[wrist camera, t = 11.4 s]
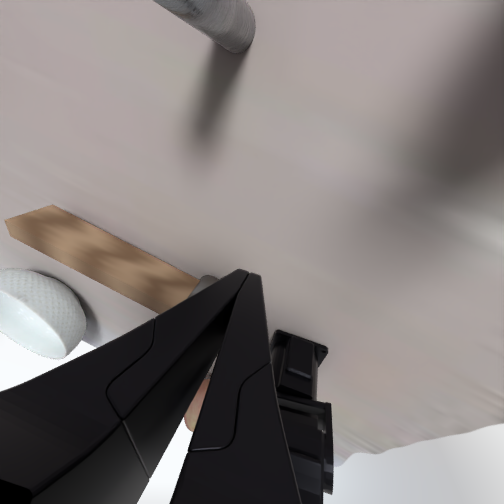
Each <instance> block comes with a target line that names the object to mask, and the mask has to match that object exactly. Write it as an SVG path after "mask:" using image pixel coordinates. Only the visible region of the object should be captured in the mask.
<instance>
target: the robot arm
mask: <svg viewBox="0 0 504 504" xmlns="http://www.w3.org/2000/svg"><path fill="white" fill-rule="evenodd" d="M217 354H218V356H217ZM327 354H328V348H327V347H326V346H323V345H320V344H317V343H314V342H312V341H309V340H306V339H303V338H301V337H298V336H295V335H292V334H289V333H287V332H284V331H281V330H276V332H275V334H274V337H273V339H272V342H271V345H270V344H269V336H268V328H267V320H266V312H265V304H264V296H263V288H262V280H261V276H260V275H258V274H255V273H249V272H248V271H245V270H242V269H237V270H235V271H233V272H232V273H230V274H228V275H227V276H225V277H223V278H221V279H220V280H218V281H216V282H214V283H213V284H211V285H209V286H208V287H206V288H204V289H202V290H201V291H199V292H197V293H196V294H194V295H192V296H190V297H189V298H187V299H185V300H184V301H182V302H180V303H178V304H177V305H175V306H173V307H172V308H170V309H168V310H166V311H165V312H163V313H161V314H160V315H158V316H156V317H155V319H154V318H153V319H151V320H149V321H147V322H146V323H144V324H142V325H140V326H139V327H137V328H135V329H133V330H131V331H130V332H128V333H126V334H124V335H122V336H120V337H118V338H116V339H114V340H112V341H110V342H108V343H106V344H104V345H102V346H100V347H98V348H96V349H94V350H92V351H90V352H88V353H86V354H84V355H82V356H80V357H77V358H75V359H73V360H71V361H69V362H67V363H65V364H63V365H61V366H58V367H57V368H54V369H52V370H50V371H48V372H46V373H44V374H42V375H40V376H37V377H35V378H33V379H31V380H29V381H27V382H24V383H22V384H20V385H17V386H14V387H12V388H9V389H7V390H4V391H1V392H0V504H137V502H138V500H139V499H140V497H141V495H142V493H143V491H144V489H145V488H146V486H147V484H148V482H149V478H151V476H152V474H153V472H154V471H155V469H156V467H157V465H158V463H159V462H160V460H161V458H162V456H163V454H164V452H165V450H166V449H167V447H168V445H169V443H170V441H171V439H172V438H173V436H174V434H175V432H176V430H177V428H178V426H179V424H180V423H181V421H182V419H183V417H184V415H185V414H186V412H187V410H188V408H189V406H190V404H191V402H192V401H193V399H194V397H195V395H196V393H197V391H198V390H199V388H200V386H201V384H202V382H203V380H204V378H205V377H206V375H207V373H208V371H209V369H210V367H211V366H212V364H213V362H214V360H215V358H216V356H217V359H216V362H215V365H214V369H213V372H212V375H211V378H210V381H209V384H208V387H207V391H206V394H205V397H204V400H203V403H202V406H201V410H200V413H199V416H198V419H197V422H196V425H195V428H194V432H193V435H192V438H191V441H190V444H189V447H188V453H187V454H186V457H185V460H184V463H183V466H182V469H181V472H180V475H179V478H178V481H177V484H176V487H175V490H174V493H173V496H172V498H171V501H170V504H323V492H325V493H328V494H331V495H332V492H333V432H332V411H331V403H328V402H325V403H323V402H319V401H317V374H318V367H319V366H320V364H321V363H322V361H323V360H324V358H325V357H326V355H327ZM322 430H323V431H322Z"/></svg>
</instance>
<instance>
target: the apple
mask: <svg viewBox="0 0 504 504" xmlns="http://www.w3.org/2000/svg"><path fill="white" fill-rule="evenodd" d="M209 381H210V379H205V380H203V382H202V384H201V386H200V388H199V390H198V391H197V393H196V395H195V397H194V399H193V401H192V402H191V404H190V406H189V408H188V410H187V412H186V414H185V415H184V420H185V424H186V426H187V428H188V429H189V430H190V431H192V432H194V428H195V425H196V422H197V419H198V416H199V413H200V410H201V406H202V403H203V400H204V397H205V394H206V391H207V387H208V384H209Z"/></svg>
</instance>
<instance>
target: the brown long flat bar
mask: <svg viewBox="0 0 504 504" xmlns="http://www.w3.org/2000/svg"><path fill="white" fill-rule="evenodd" d="M5 223H6V226H7V228H8V231H9V234H10V236H11V237H13V238H15V239H17V240H19V241H20V242H22V243H24V244H26V245H28V246H30V247H32V248H34V249H36V250H38V251H40V252H42V253H43V254H45V255H47V256H49V257H51V258H53V259H55V260H57V261H59V262H61V263H63V264H65V265H66V266H68V267H70V268H72V269H74V270H76V271H78V272H80V273H82V274H84V275H86V276H88V277H89V278H91V279H93V280H95V281H97V282H99V283H101V284H103V285H105V286H107V287H109V288H110V289H112V290H114V291H116V292H118V293H120V294H122V295H124V296H126V297H128V298H130V299H132V300H133V301H135V302H137V303H139V304H141V305H143V306H145V307H147V308H149V309H151V310H153V311H155V312H156V313H158V314H161V313H163V312H165V311H166V310H168V309H170V308H172V307H173V306H175V305H177V304H178V303H180V302H182V301H184V300H185V299H187V298H189V297H190V296H192V295H194V294H196V293H197V292H199V291H201V290H202V289H204V288H206V287H208V286H209V285H211V284H213V283H214V282H216V281H218V279H217V278H215V277H213V276H210V275H206V276H203V277H202V278H201V279H200V280H198V279H196V278H194V277H192V276H190V275H188V274H186V273H184V272H183V271H181V270H179V269H177V268H175V267H173V266H171V265H169V264H167V263H165V262H163V261H161V260H159V259H157V258H155V257H153V256H151V255H150V254H148V253H146V252H144V251H142V250H140V249H138V248H136V247H134V246H132V245H130V244H128V243H126V242H124V241H122V240H120V239H118V238H117V237H115V236H113V235H111V234H109V233H107V232H105V231H103V230H101V229H99V228H97V227H95V226H93V225H91V224H89V223H87V222H86V221H84V220H82V219H80V218H78V217H76V216H74V215H72V214H70V213H68V212H66V211H64V210H62V209H60V208H58V207H56V206H54V205H50V206H47V207H44V208H41V209H38V210H34V211H31V212H28V213H25V214H22V215H19V216H16V217H13V218H10V219H7V220H5Z"/></svg>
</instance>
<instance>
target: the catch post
mask: <svg viewBox="0 0 504 504" xmlns="http://www.w3.org/2000/svg"><path fill="white" fill-rule="evenodd" d="M153 1H155V2H156V3H158V4H159V5H161V6H162V7H164V8H165V9H167V10H168V11H170V12H171V13H173V14H174V15H176V16H177V17H179V18H180V19H182V20H183V21H185V22H186V23H188V24H189V25H191V26H192V27H194V28H195V29H197V30H198V31H200V32H201V33H203V34H204V35H206V36H207V37H209V38H210V39H212V40H213V41H215V42H216V43H218V44H219V45H221V46H222V47H224V48H225V49H227V50H228V51H230V52H232V53H241V52H243V51H245V50H246V49H247V48H248V47H249V45H250V44H251V42H252V40H253V37H254V33H255V18H254V14H253V11H252V9H251V7H250V6H249V4H248V3H247V2H246V0H153Z"/></svg>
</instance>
